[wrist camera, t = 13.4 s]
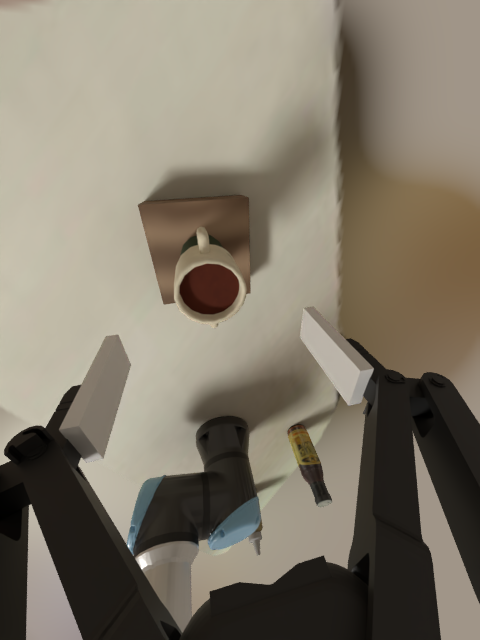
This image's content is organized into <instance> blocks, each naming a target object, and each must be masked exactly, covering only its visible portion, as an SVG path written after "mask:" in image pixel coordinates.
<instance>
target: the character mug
mask: <svg viewBox="0 0 480 640" xmlns="http://www.w3.org/2000/svg"><path fill="white" fill-rule="evenodd" d="M196 233H197V235H196V236H193V237H190V238H189V239H188V240H187V241H186V242H185V243H184V244H183V247H182V250H181V254H180V255H181V256H180V259H179V261H178V263H177V265H176V270H175V279H174V300H175V302H176V304H177V306H178V308H179V310H180V312H182V313H183V314H184V315H185V316H186V317H187V318H189V319H190V320H193V321H195V322H198V323H201V324H210V325H211V327H212V328H216V327H217V326H218V323H220V322H223V321H226V320H228V319H229V318H231V317H232V316H233V315H235V314H236V313H237V312H238V311H239V309H240V308H241V306H242V305H243V304H244V301H245V298H246V292H247V289H246V283H245V281H244V278H243V276H242V274H241V272H240V270H239V267H238V266H237V265H236V263H235V260H234V259H233V257H232V256H231V254H230V253H229V252H228V251H227V250H225V249H224V248H223V247H222V245H221V243H220V242H219V241H218V240H217V239H215V238H214V237H212V236H211V235H208V233H207V231H206V229H205V228H204V227H199V228H197V232H196Z"/></svg>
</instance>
